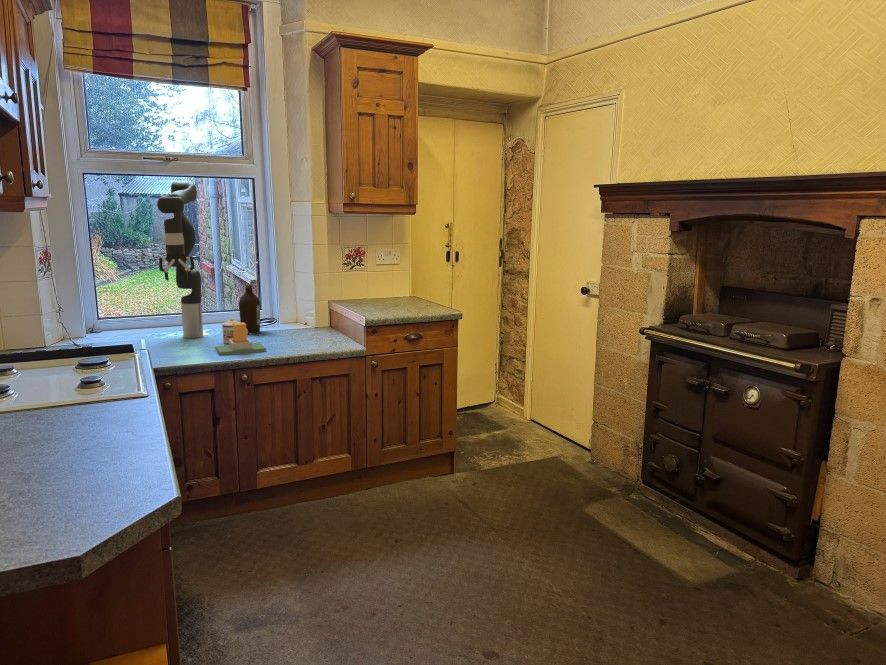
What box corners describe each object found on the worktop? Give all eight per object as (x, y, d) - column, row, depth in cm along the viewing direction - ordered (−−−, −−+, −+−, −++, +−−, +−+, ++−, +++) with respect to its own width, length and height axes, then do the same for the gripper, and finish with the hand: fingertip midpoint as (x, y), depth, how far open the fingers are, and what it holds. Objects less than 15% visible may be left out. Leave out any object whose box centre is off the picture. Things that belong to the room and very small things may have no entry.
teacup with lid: (220, 343, 290) (218, 319, 287) (226, 339, 299) (225, 316, 296) (245, 344, 290) (244, 320, 288) (250, 340, 299) (249, 317, 297)
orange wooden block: (233, 346, 279) (232, 323, 276) (245, 345, 281) (244, 322, 279) (235, 348, 274) (234, 325, 272) (247, 347, 277) (246, 324, 274)
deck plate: (215, 349, 279) (215, 339, 278) (259, 345, 288) (259, 336, 287) (219, 355, 268) (219, 345, 267) (265, 351, 277) (265, 341, 276)
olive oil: (238, 334, 311) (236, 286, 305) (241, 330, 321) (239, 283, 316) (260, 334, 313) (258, 286, 308) (261, 330, 323) (260, 283, 318)
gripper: (191, 242, 272) (194, 277, 276) (156, 243, 265) (160, 279, 269) (192, 243, 265) (196, 280, 269) (157, 244, 259) (161, 282, 263)
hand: (178, 280), depth 269 cm, fingers open, 8 cm apart
